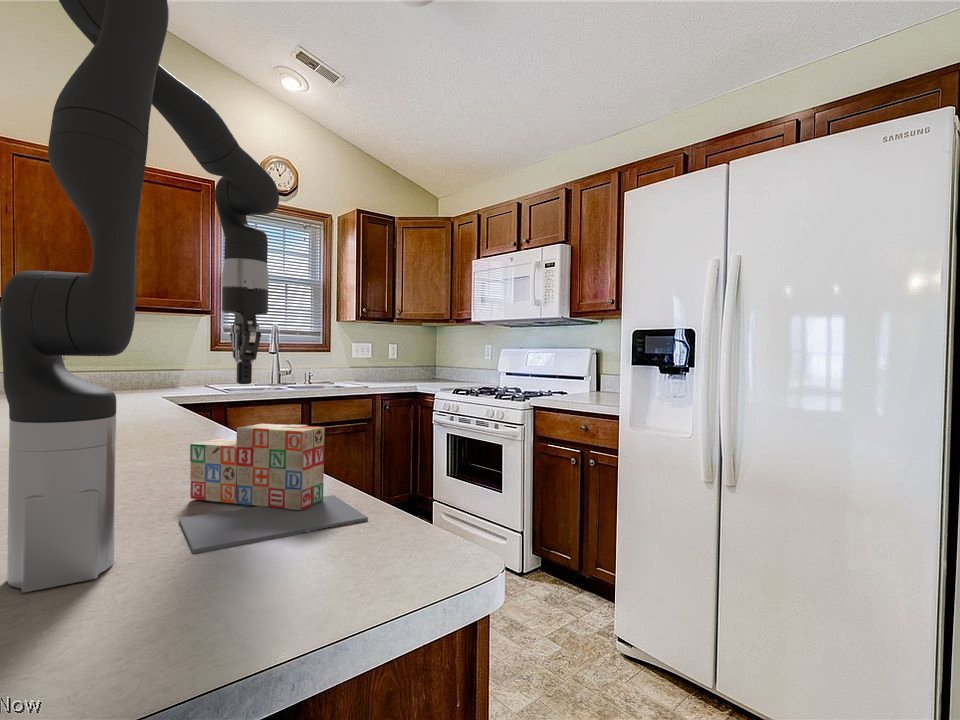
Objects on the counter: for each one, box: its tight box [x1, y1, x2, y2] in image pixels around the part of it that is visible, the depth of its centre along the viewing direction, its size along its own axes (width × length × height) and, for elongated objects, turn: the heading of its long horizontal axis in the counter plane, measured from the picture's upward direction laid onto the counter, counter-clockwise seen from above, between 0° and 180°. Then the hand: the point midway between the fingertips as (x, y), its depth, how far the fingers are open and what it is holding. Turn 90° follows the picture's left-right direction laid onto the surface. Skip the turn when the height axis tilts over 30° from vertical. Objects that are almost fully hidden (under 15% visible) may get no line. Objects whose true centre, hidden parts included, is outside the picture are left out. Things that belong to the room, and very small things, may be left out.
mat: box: [178, 494, 369, 554], centre depth 76 cm, size 14×23×1 cm, turn 127°
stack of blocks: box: [189, 423, 326, 510], centre depth 84 cm, size 21×6×12 cm, turn 74°
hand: (244, 383), depth 92 cm, fingers closed
